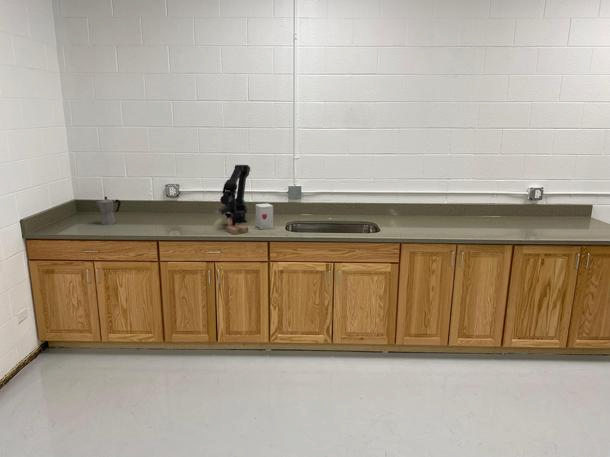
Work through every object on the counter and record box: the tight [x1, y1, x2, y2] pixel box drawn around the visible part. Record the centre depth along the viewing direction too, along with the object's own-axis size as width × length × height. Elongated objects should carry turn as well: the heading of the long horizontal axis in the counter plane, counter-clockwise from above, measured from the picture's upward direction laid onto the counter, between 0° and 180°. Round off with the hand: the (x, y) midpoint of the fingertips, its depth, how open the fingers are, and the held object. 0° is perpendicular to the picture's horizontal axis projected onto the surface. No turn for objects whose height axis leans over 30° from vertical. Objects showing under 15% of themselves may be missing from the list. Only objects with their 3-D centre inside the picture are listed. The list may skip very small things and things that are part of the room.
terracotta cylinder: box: [227, 217, 237, 226], centre depth 301 cm, size 5×5×6 cm
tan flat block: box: [225, 224, 249, 235], centre depth 289 cm, size 10×10×3 cm
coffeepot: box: [95, 196, 122, 226], centre depth 305 cm, size 15×9×18 cm, turn 113°
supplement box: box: [255, 203, 274, 230], centre depth 299 cm, size 9×9×15 cm
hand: (231, 225), depth 301 cm, fingers closed on terracotta cylinder, 5 cm apart
